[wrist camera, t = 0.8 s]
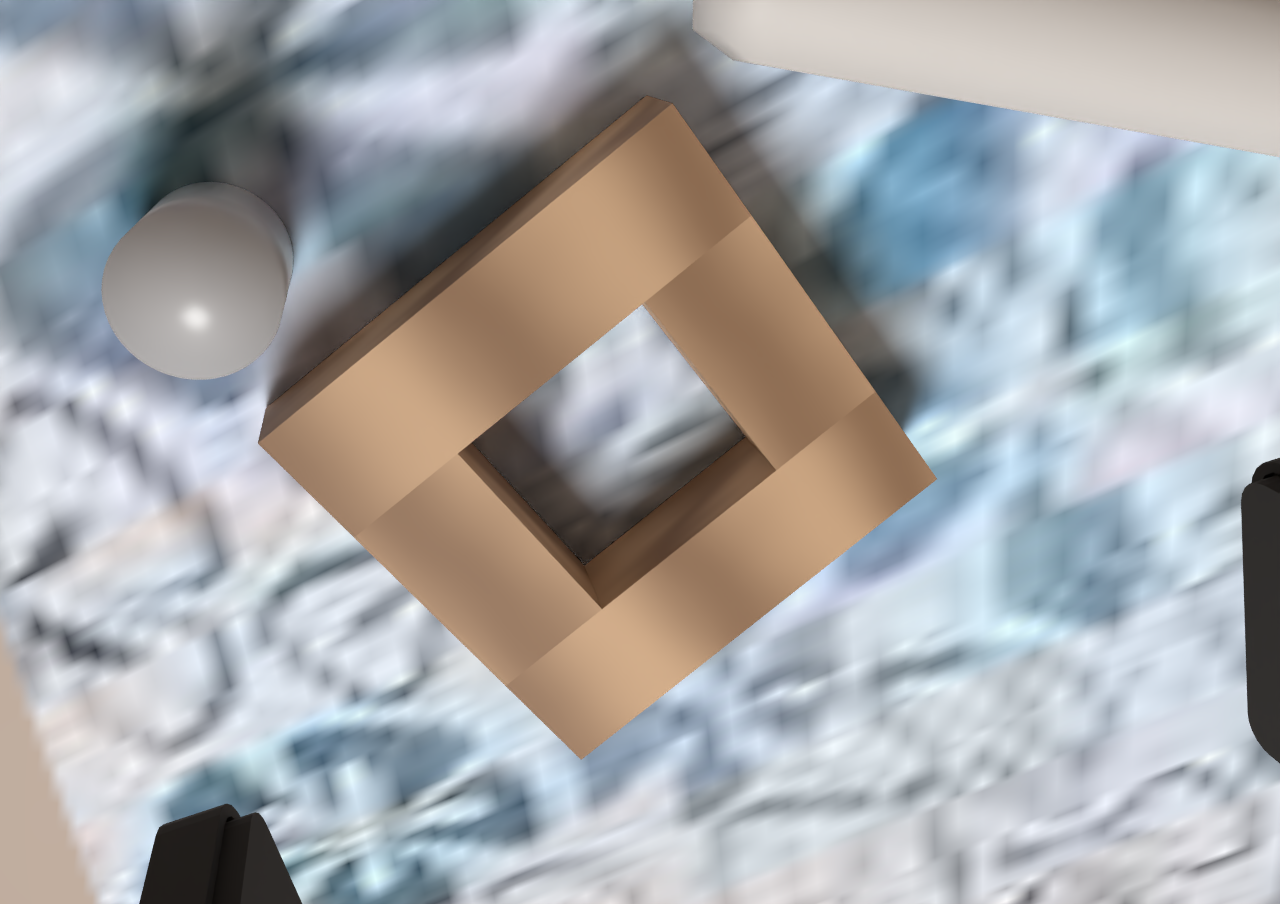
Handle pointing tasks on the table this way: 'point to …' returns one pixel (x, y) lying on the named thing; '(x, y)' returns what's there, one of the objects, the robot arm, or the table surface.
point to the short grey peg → (200, 281)
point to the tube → (1037, 56)
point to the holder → (537, 350)
